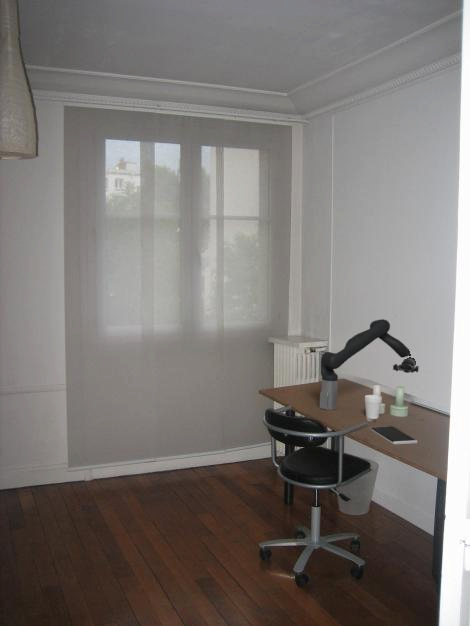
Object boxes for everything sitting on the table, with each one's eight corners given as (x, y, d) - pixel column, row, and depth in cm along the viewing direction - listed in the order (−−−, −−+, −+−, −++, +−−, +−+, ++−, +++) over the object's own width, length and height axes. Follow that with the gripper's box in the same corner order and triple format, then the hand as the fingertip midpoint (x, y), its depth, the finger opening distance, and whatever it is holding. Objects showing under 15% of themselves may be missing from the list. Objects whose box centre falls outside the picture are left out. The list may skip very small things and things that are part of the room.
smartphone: (392, 428, 348) (392, 425, 348) (418, 444, 322) (418, 440, 322) (369, 429, 345) (369, 426, 345) (393, 445, 319) (394, 442, 319)
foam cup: (368, 416, 369) (369, 394, 368) (383, 419, 363) (385, 396, 362) (360, 419, 362) (361, 396, 360) (375, 423, 356) (377, 399, 354)
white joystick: (376, 417, 368) (378, 387, 366) (363, 413, 376) (364, 384, 374) (388, 414, 374) (389, 385, 372) (374, 410, 382) (376, 382, 380)
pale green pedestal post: (400, 420, 363) (401, 390, 361) (386, 416, 371) (387, 386, 369) (411, 417, 369) (413, 388, 367) (397, 413, 377) (399, 384, 375)
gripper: (396, 358, 395) (392, 362, 380) (420, 360, 389) (417, 365, 374) (395, 370, 396) (391, 375, 381) (420, 372, 390) (416, 377, 375)
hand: (404, 370), depth 378 cm, fingers open, 8 cm apart
